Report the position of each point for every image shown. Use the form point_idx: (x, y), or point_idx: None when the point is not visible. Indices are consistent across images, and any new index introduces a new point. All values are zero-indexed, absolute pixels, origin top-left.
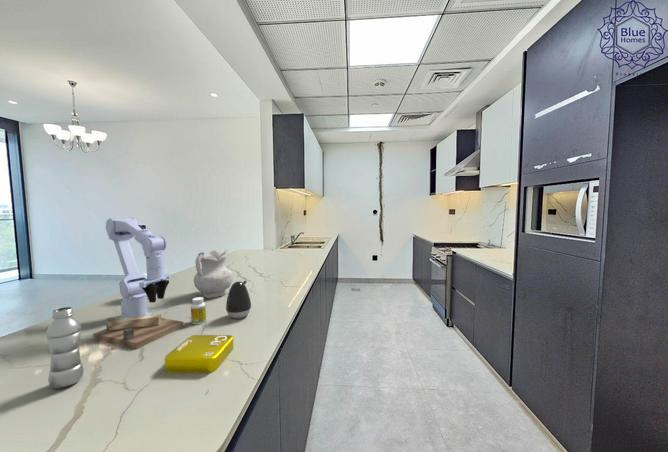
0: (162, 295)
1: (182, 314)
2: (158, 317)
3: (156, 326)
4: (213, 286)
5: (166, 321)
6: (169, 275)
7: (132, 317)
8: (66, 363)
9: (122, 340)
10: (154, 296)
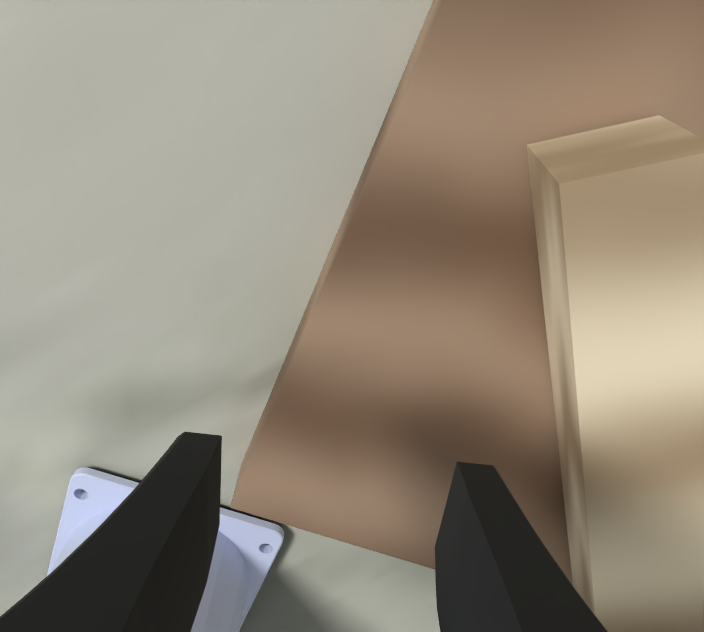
0: (198, 494)
1: (10, 70)
2: None
3: (697, 125)
4: None
5: (505, 74)
6: None
7: (605, 523)
8: None
9: None
10: (565, 581)
